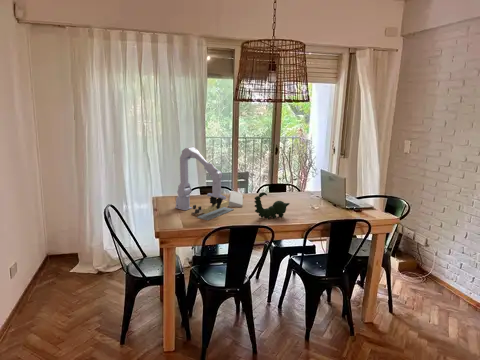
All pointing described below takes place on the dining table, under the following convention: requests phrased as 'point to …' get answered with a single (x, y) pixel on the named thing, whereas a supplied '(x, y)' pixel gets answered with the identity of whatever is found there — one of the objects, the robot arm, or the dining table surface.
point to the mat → (215, 213)
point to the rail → (215, 207)
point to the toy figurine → (270, 208)
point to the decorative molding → (235, 199)
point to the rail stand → (198, 210)
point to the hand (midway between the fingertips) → (216, 208)
